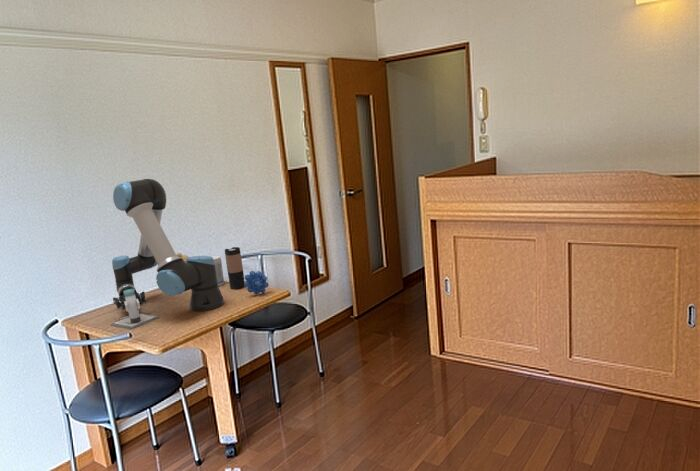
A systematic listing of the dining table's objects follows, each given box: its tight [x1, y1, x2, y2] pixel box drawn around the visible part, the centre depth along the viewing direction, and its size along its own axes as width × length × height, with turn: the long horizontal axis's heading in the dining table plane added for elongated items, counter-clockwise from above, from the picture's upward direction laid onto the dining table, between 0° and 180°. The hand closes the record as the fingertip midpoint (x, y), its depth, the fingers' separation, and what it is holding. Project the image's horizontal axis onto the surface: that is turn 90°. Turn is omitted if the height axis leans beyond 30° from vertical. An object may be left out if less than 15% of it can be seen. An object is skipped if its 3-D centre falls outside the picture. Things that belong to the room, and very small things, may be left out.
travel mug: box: [224, 246, 246, 291], centre depth 263 cm, size 8×8×20 cm
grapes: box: [244, 270, 269, 296], centre depth 247 cm, size 12×7×12 cm, turn 116°
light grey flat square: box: [110, 312, 160, 330], centre depth 228 cm, size 14×14×1 cm
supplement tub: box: [210, 255, 225, 287], centre depth 272 cm, size 10×10×15 cm
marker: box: [123, 289, 141, 323], centre depth 223 cm, size 4×4×14 cm
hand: (132, 306), depth 219 cm, fingers closed on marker, 4 cm apart
